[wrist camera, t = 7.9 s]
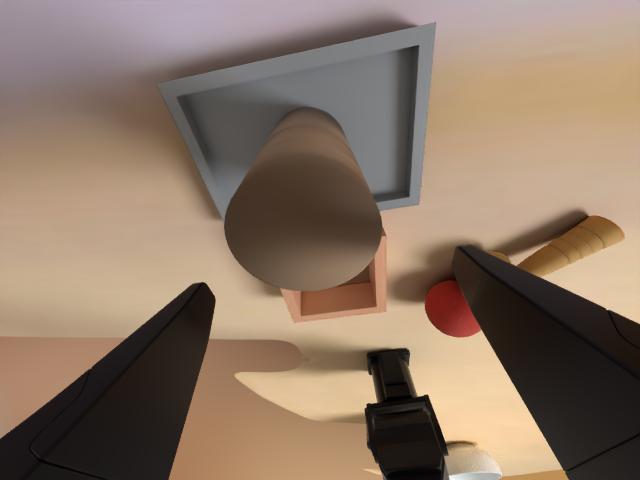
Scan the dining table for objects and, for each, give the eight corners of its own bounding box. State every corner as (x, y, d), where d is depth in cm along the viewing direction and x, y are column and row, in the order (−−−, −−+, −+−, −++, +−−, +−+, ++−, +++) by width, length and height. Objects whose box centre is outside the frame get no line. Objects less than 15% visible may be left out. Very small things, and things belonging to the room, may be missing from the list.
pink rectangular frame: (379, 286, 28) (386, 311, 25) (295, 297, 28) (293, 322, 26) (376, 213, 22) (386, 235, 19) (271, 230, 22) (266, 253, 20)
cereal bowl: (461, 434, 64) (475, 471, 58) (499, 442, 69) (516, 475, 63) (417, 450, 72) (425, 483, 67) (454, 455, 78) (465, 486, 72)
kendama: (569, 181, 22) (403, 287, 26) (659, 219, 17) (439, 340, 22) (565, 226, 27) (425, 310, 31) (634, 266, 22) (458, 357, 26)
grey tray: (410, 193, 21) (419, 204, 19) (236, 221, 22) (230, 234, 20) (422, 27, 14) (435, 22, 12) (172, 81, 15) (155, 83, 14)
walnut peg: (349, 179, 19) (382, 282, 10) (282, 190, 19) (255, 298, 10) (342, 99, 15) (381, 146, 6) (260, 115, 16) (194, 179, 7)
